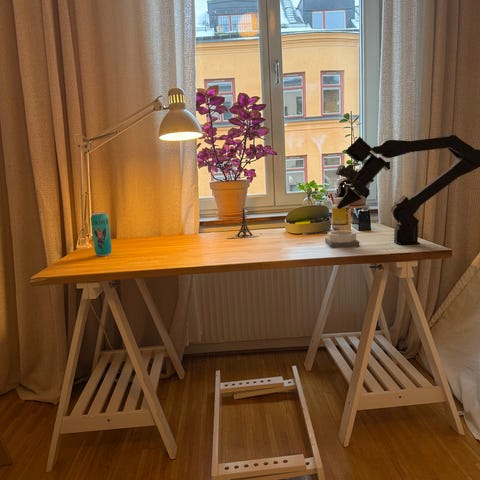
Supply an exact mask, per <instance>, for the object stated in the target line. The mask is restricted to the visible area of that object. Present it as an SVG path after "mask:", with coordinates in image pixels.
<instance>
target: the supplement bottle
mask: <svg viewBox="0 0 480 480" xmlns="http://www.w3.org/2000/svg"><path fill="white" fill-rule="evenodd" d="M342 198H343V197H342ZM342 198H337V197H334V198H333V204H334V205H333V204H332V205H331V226H332V227H333V228H347V227H349V205H347V206H345V207H343V208H341V209H338V208H337V206H338V204H339V203H340V201H341V200H342Z"/></svg>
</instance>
